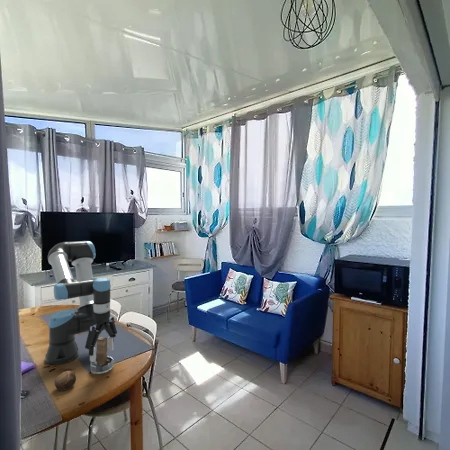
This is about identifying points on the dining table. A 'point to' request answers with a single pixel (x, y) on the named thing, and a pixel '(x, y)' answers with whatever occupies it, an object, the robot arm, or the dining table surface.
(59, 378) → the brown oval lump
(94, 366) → the tin
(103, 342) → the brown wooden block
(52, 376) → the dining table surface
